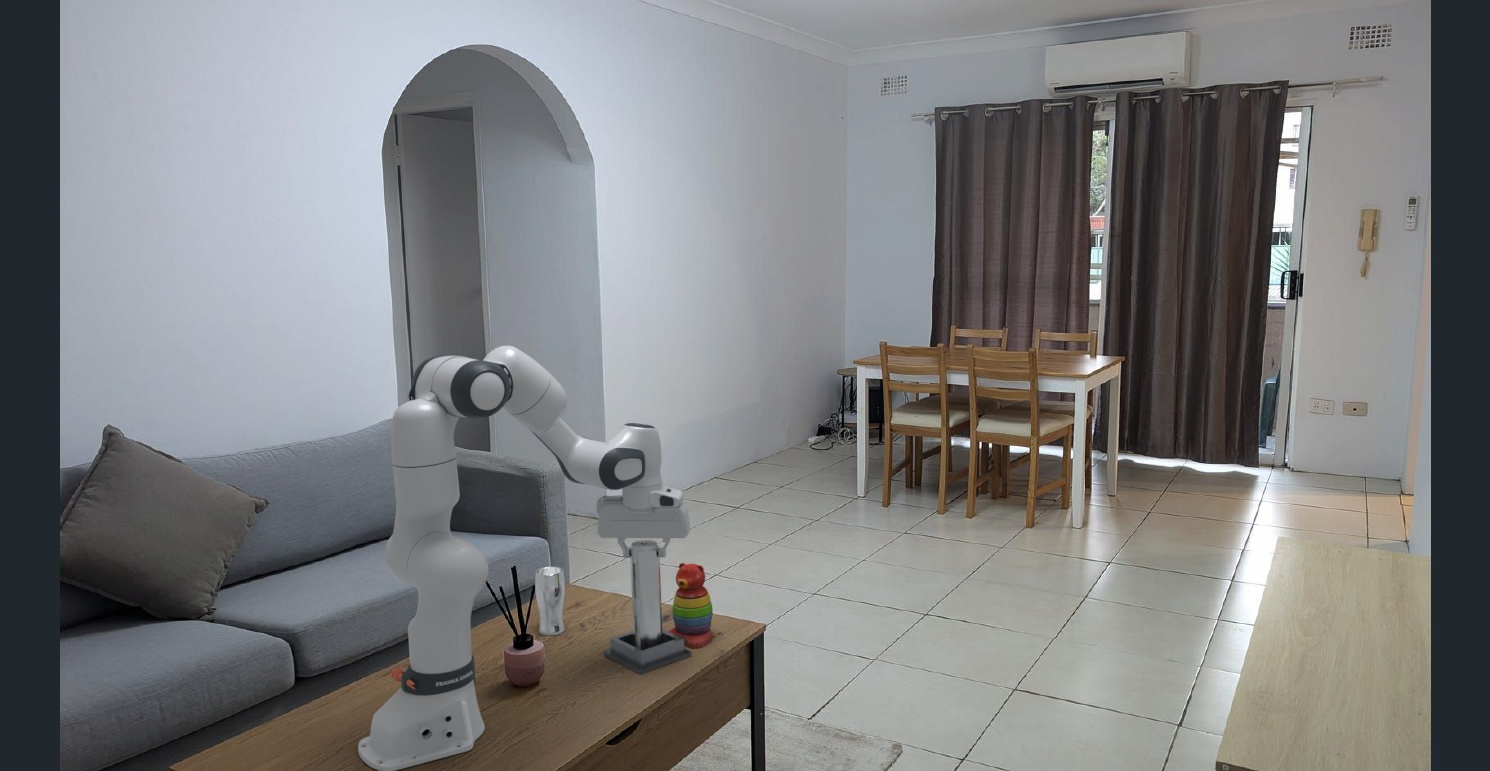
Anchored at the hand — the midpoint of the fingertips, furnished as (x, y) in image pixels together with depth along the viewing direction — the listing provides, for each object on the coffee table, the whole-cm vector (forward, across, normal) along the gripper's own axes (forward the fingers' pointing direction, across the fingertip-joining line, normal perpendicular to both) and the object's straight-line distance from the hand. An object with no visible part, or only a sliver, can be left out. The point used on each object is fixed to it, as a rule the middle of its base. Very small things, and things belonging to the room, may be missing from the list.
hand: (644, 556), depth 215 cm
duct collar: (+23, 0, 0) cm, 23 cm away
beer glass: (+23, -26, +13) cm, 37 cm away
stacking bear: (+23, +8, +11) cm, 27 cm away
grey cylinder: (+22, 0, +1) cm, 22 cm away
